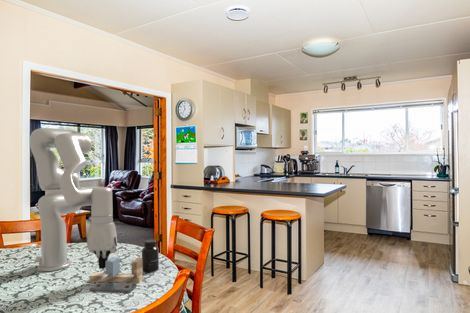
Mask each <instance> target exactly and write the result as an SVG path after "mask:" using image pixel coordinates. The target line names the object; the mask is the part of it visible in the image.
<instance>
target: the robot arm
mask: <svg viewBox="0 0 470 313" xmlns="http://www.w3.org/2000/svg"><path fill="white" fill-rule="evenodd" d="M92 145H93V144H92V141H91V139H90V137H89V136H88V135H87V134H85V133H82V132H80V131H76V130H72V129H66V128H65V129H64V128H52V127H50V128H49V127H42V128H36V129H35V130H33V131H32V132H31V134H30V137H29V148H30V150H31V154H32V155H33V158H34V161H35V166H36V173H37V179H38V185H39V188H40V190H42V191H44V192H51V191H52V192H53V191H61V192H55V193H48V194H45V195H42V196H41V197H40V198H39V199H38V202H37V210H38V213H39V215H38V216H39V218H40V219H39V220H40V239H41V240H40V244H41V246H40V248H41V250H40V252H41V253H40V254H41V255H39V256H38V255H37V256H36V257H35V258H34V262H35V263H38V265H37V267H36V270H37V271H40V272H54V271H59V270H63V269H66V268H68V267H69V266H71V264H72V261H71V260H70V259H68V255H67V254H68V253H67V251H68V248H67V242H68V241H67V224H66V223H67V222H65V220H64V219H63V217H62V215H65V214H72V213H76V212H78V211H80V210H81V208H83V207H89V206H91V207H90V208H91V212H90V213H91V214H90V215H91V216H89V217H88V220H89V221H90V224H89V225H88V229H87V239H86V248H87V250H88V251H89V253H92V254H94V255H95V256H96V259H98V262H97V263H98V269H99V270H100V269H102V270H103V269H106V268H105V261H107V260H108V259H109V256H110V255H112V254H115V253H116V252H117V251H118V249H117V247H118V238H117V237H118V235H117V227H116V224H115V222H114V218H113V217H114V214H113V211H114V210H113V209H114V208H113V189H112V188H111V187H108V186H103V187H102V186H98V185H91V186H80V178H79V176H78V173H79V172H81V171H83V170H84V169H86V167H87V164H88V162H87V159H86V157H85V155H84V154H85V153H89V152H90V151H91V149H92V147H93V146H92ZM50 148H52V149H56V151H57V153H58V156H59V158H60V161H61V163H62V165H63V168H60V165H59V159H58V157H57V155H56V154H55V153H54V152H53V151H52V150H51V149H50Z"/></svg>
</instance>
